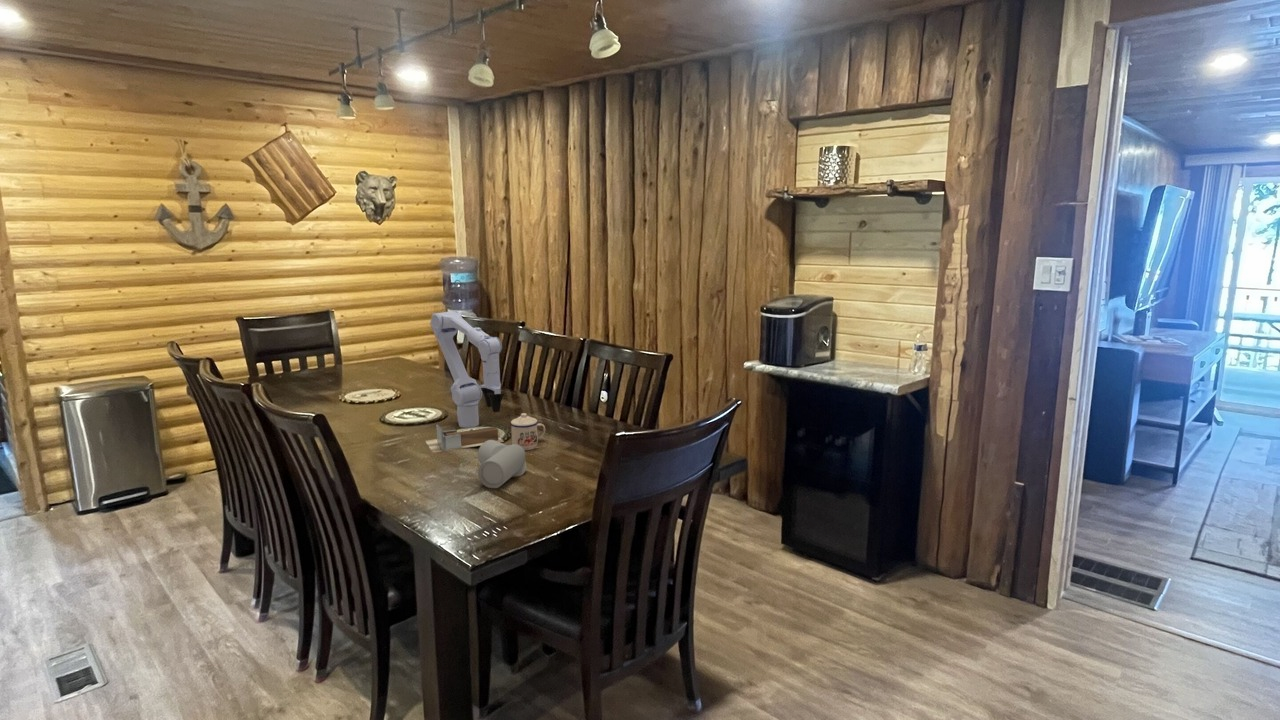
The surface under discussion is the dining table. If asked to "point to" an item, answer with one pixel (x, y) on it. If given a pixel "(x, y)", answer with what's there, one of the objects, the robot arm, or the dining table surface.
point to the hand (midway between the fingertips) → (493, 409)
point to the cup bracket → (447, 439)
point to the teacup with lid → (525, 432)
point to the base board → (435, 448)
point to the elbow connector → (500, 463)
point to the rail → (477, 435)
